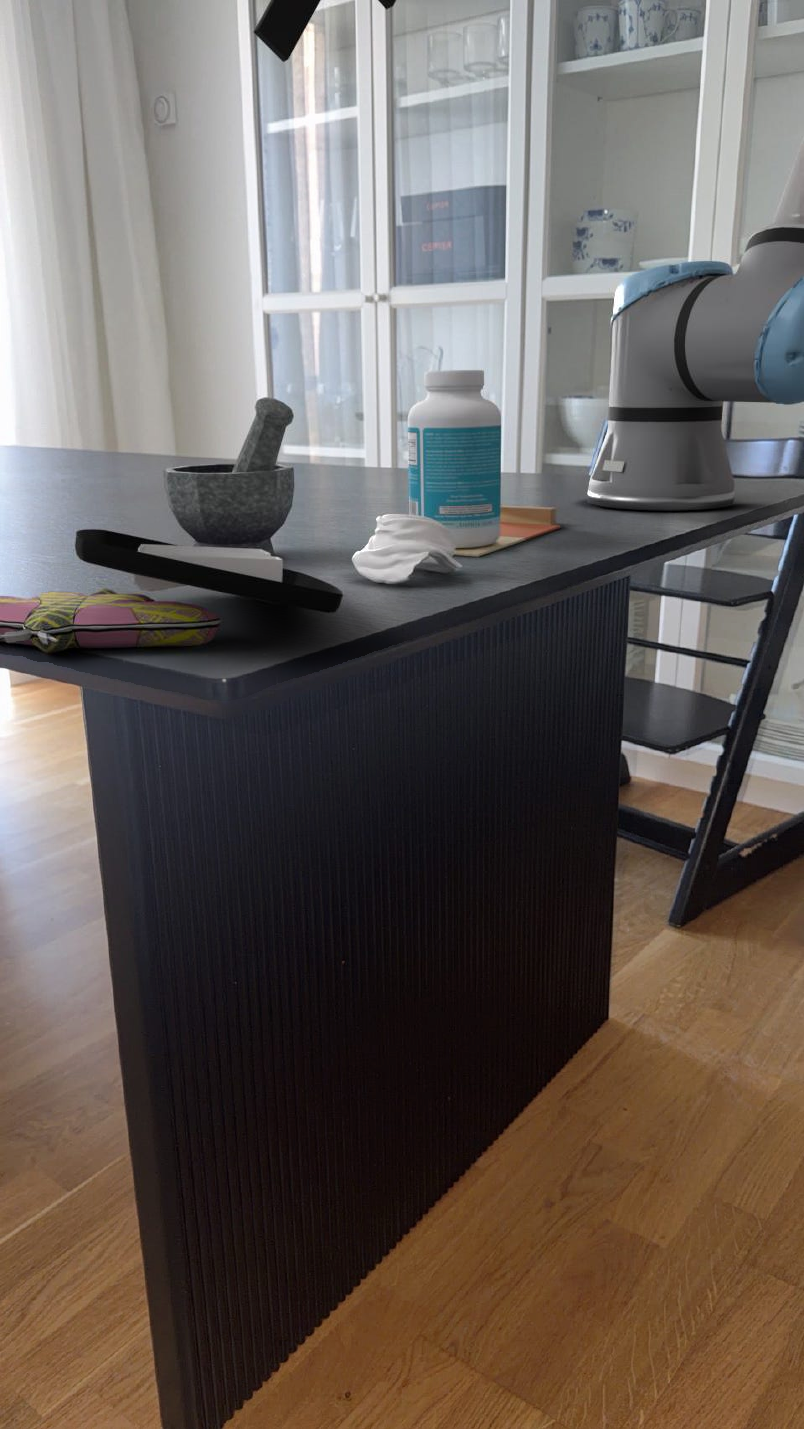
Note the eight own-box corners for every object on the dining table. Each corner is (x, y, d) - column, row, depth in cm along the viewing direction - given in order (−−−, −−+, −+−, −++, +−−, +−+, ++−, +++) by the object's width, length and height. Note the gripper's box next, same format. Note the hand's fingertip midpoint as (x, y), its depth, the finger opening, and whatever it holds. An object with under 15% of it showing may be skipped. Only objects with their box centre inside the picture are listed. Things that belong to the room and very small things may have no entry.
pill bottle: (518, 542, 87) (522, 369, 83) (459, 553, 82) (460, 369, 78) (450, 534, 92) (450, 371, 88) (390, 544, 87) (387, 371, 83)
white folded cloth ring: (335, 589, 75) (324, 519, 73) (402, 567, 79) (393, 502, 77) (415, 595, 69) (406, 521, 68) (483, 572, 73) (475, 501, 72)
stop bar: (496, 521, 101) (497, 504, 101) (556, 525, 99) (556, 507, 98) (490, 523, 100) (491, 506, 100) (550, 527, 97) (551, 509, 97)
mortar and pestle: (144, 562, 81) (130, 398, 78) (231, 546, 88) (222, 396, 85) (250, 576, 75) (240, 398, 71) (335, 558, 82) (330, 396, 78)
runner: (480, 523, 101) (480, 521, 101) (560, 527, 97) (560, 525, 97) (388, 550, 86) (388, 547, 85) (478, 556, 82) (478, 554, 82)
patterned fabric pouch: (251, 587, 59) (181, 631, 50) (254, 625, 60) (185, 675, 50) (-20, 579, 62) (-134, 619, 53) (-15, 615, 63) (-126, 660, 53)
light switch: (53, 578, 48) (352, 639, 51) (64, 514, 47) (365, 579, 51) (86, 557, 67) (303, 602, 70) (94, 511, 66) (312, 559, 70)
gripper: (335, -228, 77) (194, 25, 76) (566, -438, 57) (379, -98, 56) (407, -137, 81) (275, 102, 80) (644, -302, 61) (472, 14, 60)
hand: (317, 21), depth 68 cm, fingers open, 13 cm apart
